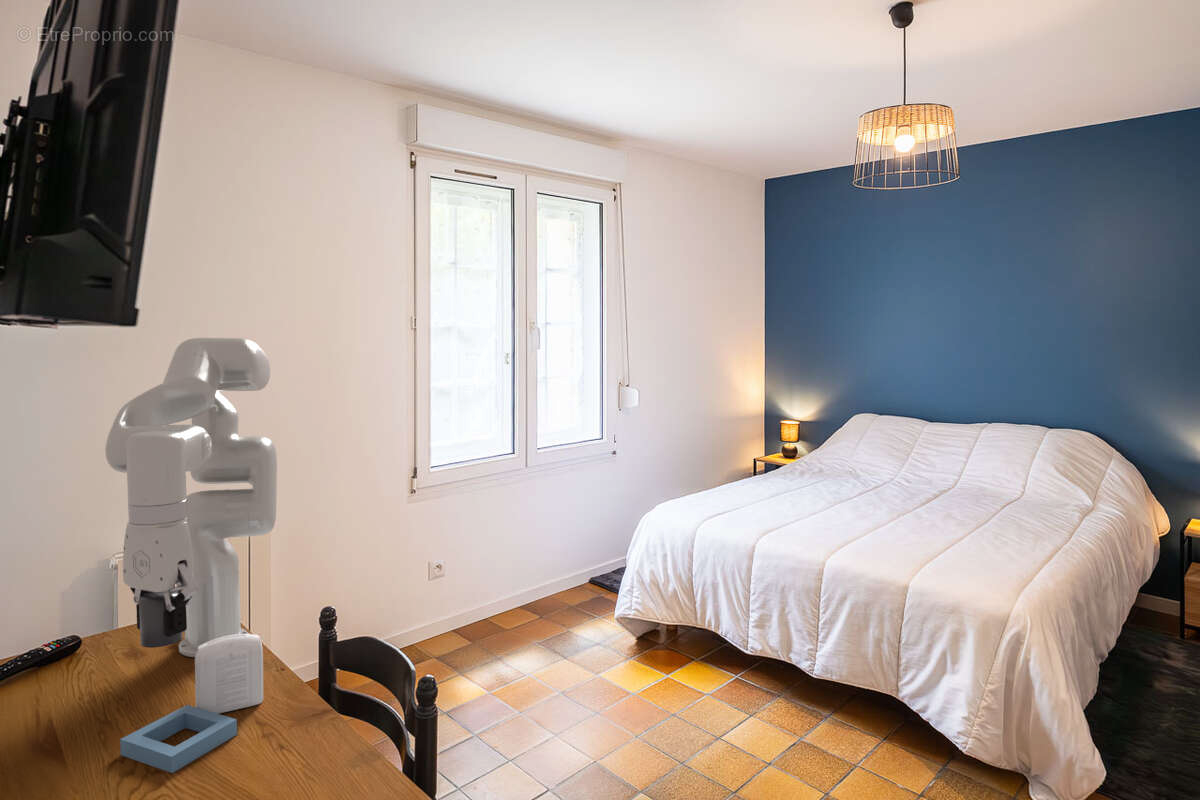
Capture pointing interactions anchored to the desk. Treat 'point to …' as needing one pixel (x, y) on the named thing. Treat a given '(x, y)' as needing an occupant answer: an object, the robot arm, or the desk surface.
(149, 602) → the dark grey cylinder
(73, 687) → the desk surface
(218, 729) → the collar
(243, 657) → the photo printer
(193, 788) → the desk surface
